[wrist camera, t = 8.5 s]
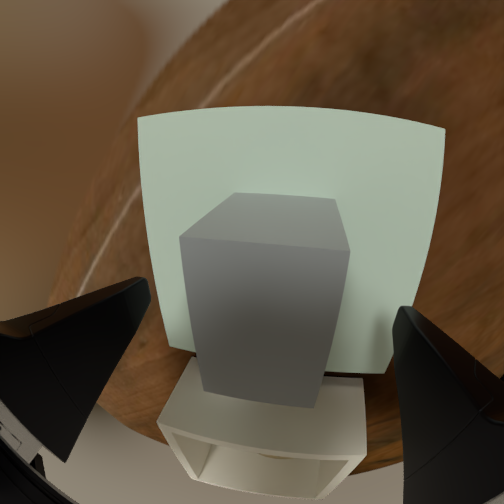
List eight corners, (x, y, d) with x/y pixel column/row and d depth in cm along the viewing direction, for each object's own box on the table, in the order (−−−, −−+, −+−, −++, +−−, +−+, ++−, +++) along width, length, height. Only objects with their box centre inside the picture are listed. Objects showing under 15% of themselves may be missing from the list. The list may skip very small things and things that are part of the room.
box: (362, 378, 16) (366, 455, 11) (327, 448, 21) (322, 499, 16) (191, 356, 18) (156, 421, 13) (210, 432, 23) (191, 478, 18)
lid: (427, 128, 10) (523, 135, 3) (380, 350, 15) (393, 446, 9) (159, 118, 12) (51, 123, 6) (182, 327, 18) (131, 405, 11)
